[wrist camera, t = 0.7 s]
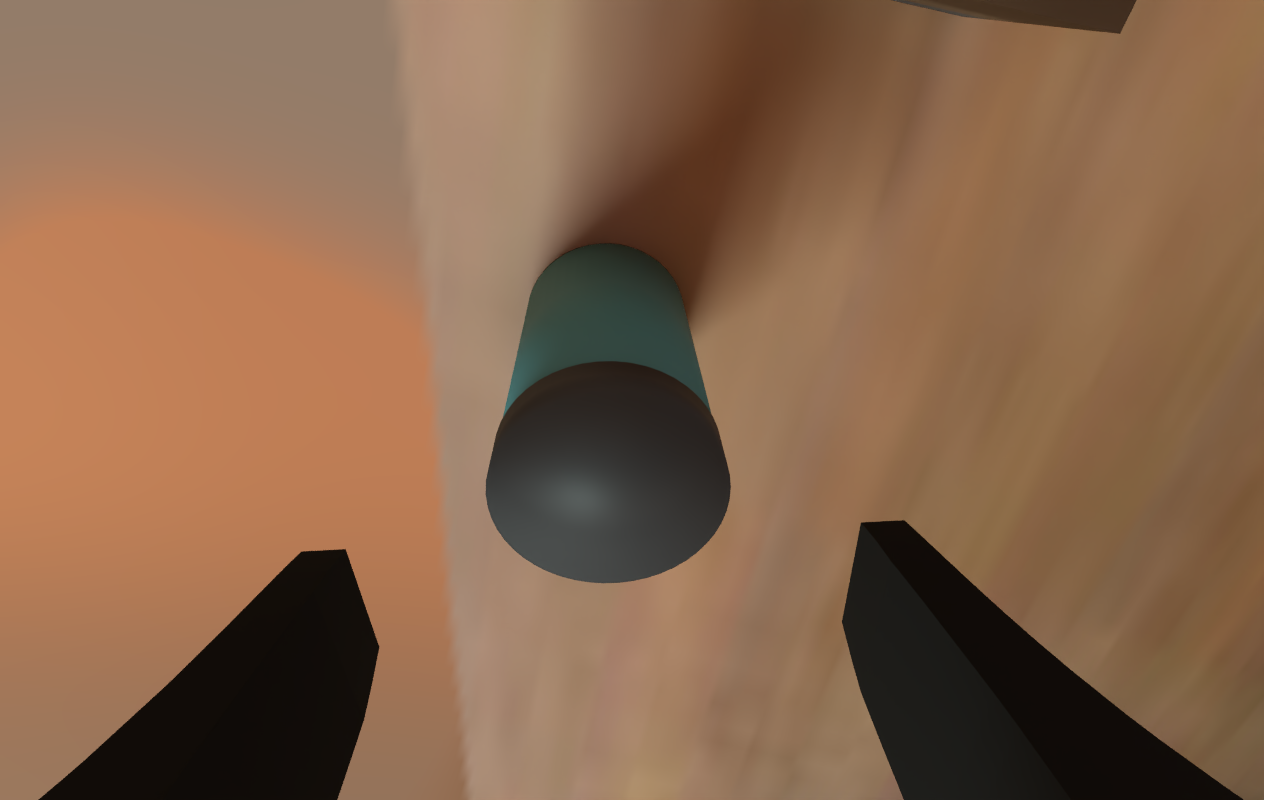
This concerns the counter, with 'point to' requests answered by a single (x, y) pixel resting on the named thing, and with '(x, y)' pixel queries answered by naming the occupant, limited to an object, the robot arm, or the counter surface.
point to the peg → (607, 425)
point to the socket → (1040, 12)
